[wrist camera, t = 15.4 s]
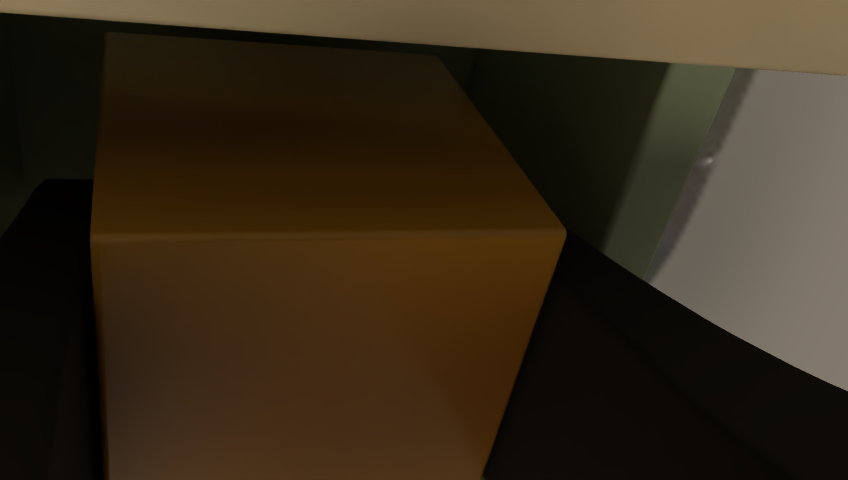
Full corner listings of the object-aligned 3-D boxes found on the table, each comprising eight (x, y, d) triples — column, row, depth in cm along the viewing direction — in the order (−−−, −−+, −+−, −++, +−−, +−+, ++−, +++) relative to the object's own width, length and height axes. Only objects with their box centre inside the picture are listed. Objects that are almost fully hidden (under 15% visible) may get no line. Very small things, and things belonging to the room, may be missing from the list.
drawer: (423, 438, 19) (512, 680, 15) (-18, 484, 16) (-75, 812, 11) (659, -417, 10) (1070, -457, 6) (-241, -704, 7) (-887, -1301, 3)
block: (388, 295, 12) (473, 510, 9) (113, 305, 11) (107, 562, 8) (438, 53, 10) (572, 232, 7) (103, 28, 9) (89, 237, 6)
